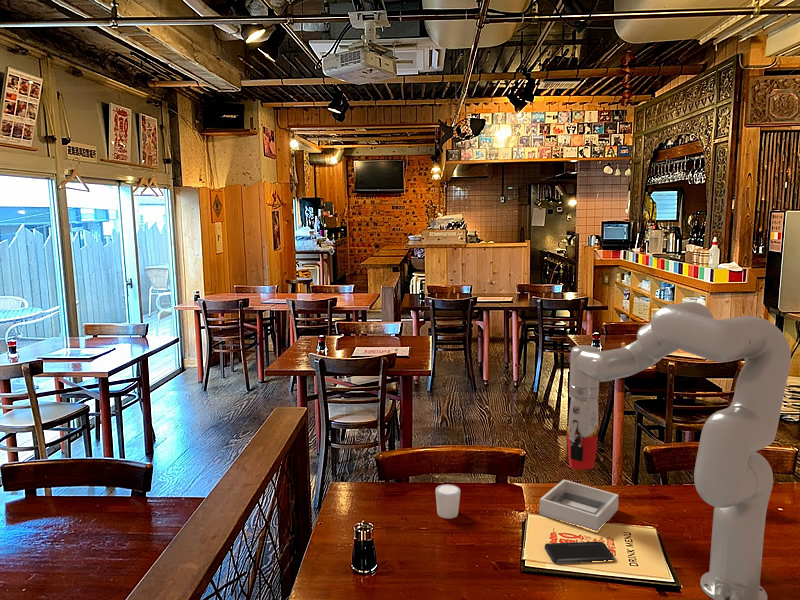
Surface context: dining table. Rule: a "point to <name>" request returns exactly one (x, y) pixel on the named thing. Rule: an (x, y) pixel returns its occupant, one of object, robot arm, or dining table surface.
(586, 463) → the french fries
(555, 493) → the walled box
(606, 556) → the phone
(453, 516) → the shot glass
